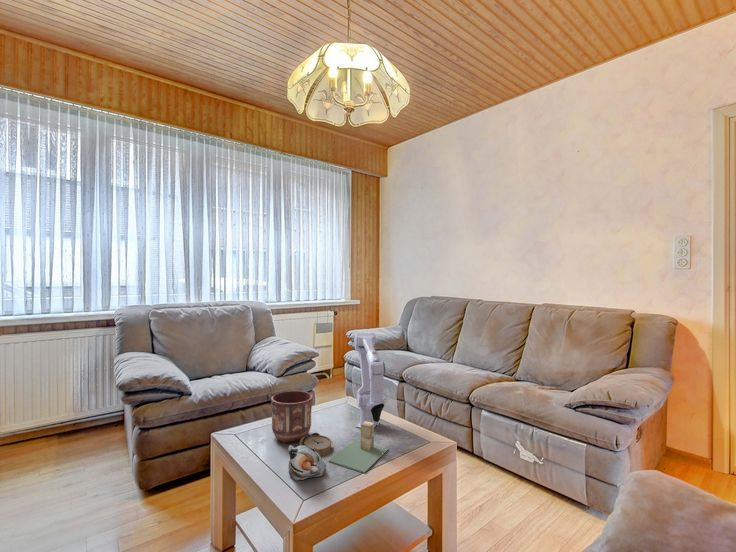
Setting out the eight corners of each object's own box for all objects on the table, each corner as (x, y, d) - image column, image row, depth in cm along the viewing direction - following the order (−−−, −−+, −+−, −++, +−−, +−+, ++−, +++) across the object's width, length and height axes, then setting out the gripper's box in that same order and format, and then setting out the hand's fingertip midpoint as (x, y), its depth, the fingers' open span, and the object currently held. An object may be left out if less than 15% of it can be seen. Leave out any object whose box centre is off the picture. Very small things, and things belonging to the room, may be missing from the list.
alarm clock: (316, 453, 140) (293, 434, 150) (314, 464, 140) (292, 445, 150) (337, 443, 148) (315, 426, 158) (336, 454, 149) (313, 436, 159)
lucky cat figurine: (333, 470, 132) (332, 446, 125) (310, 497, 124) (307, 473, 117) (304, 448, 140) (301, 424, 133) (280, 472, 132) (276, 448, 125)
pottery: (289, 451, 147) (289, 406, 147) (262, 438, 157) (263, 397, 157) (320, 436, 161) (320, 395, 161) (293, 425, 171) (294, 387, 171)
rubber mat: (355, 441, 156) (355, 439, 156) (388, 450, 148) (388, 448, 148) (328, 461, 139) (328, 460, 139) (364, 473, 131) (364, 471, 131)
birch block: (365, 444, 151) (365, 421, 151) (373, 447, 149) (373, 423, 149) (360, 448, 148) (360, 424, 148) (368, 451, 146) (369, 426, 146)
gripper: (377, 396, 147) (376, 429, 147) (392, 386, 160) (391, 417, 160) (362, 393, 151) (361, 425, 151) (378, 384, 163) (377, 413, 163)
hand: (376, 421), depth 156 cm, fingers closed
